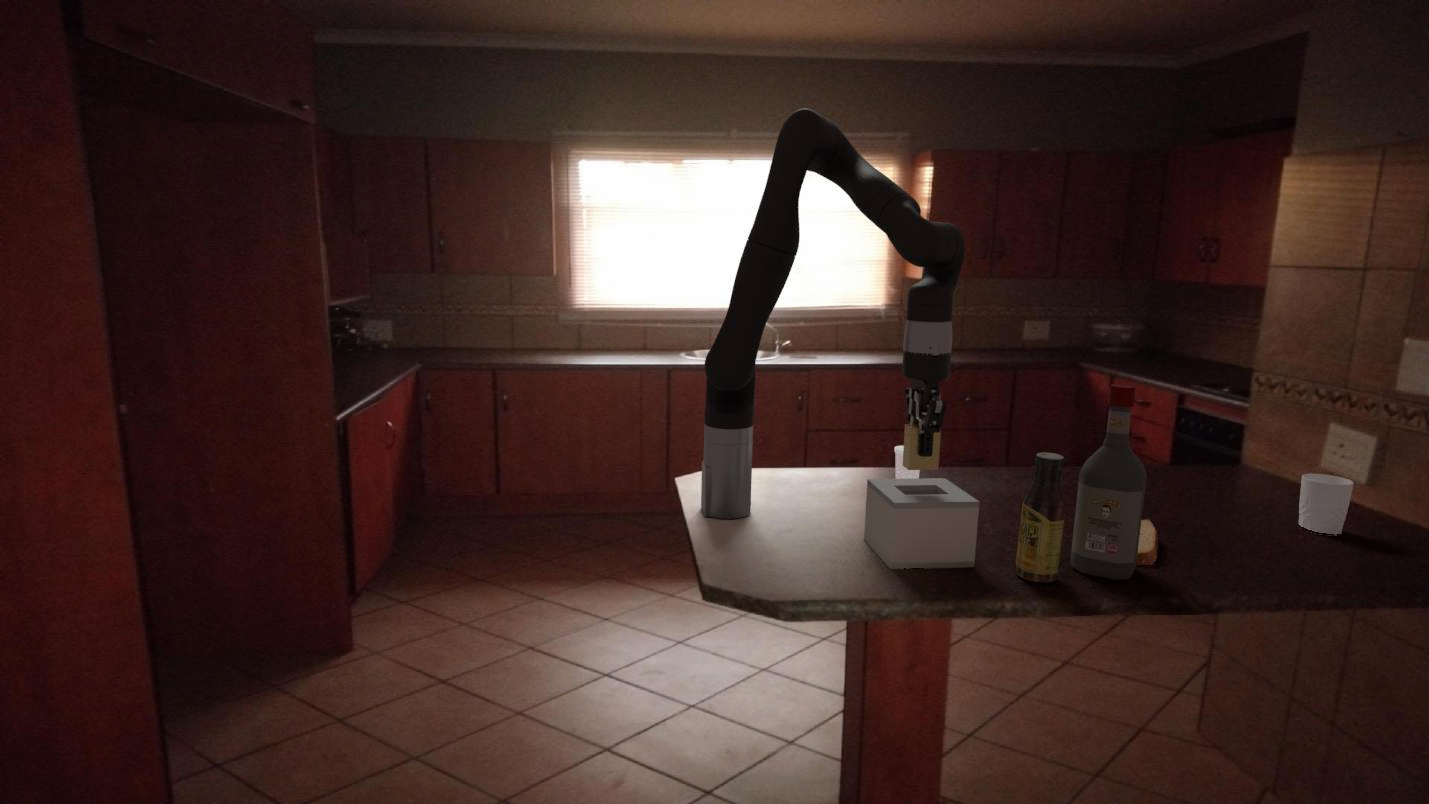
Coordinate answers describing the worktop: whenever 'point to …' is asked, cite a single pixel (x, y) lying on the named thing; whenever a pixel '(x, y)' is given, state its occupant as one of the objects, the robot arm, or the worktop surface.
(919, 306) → the robot arm
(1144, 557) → the slice of bread
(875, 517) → the grey box with opening
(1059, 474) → the sauce bottle
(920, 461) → the tall khaki box
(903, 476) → the beverage cup
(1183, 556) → the worktop surface
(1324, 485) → the white cup
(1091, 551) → the liquor
